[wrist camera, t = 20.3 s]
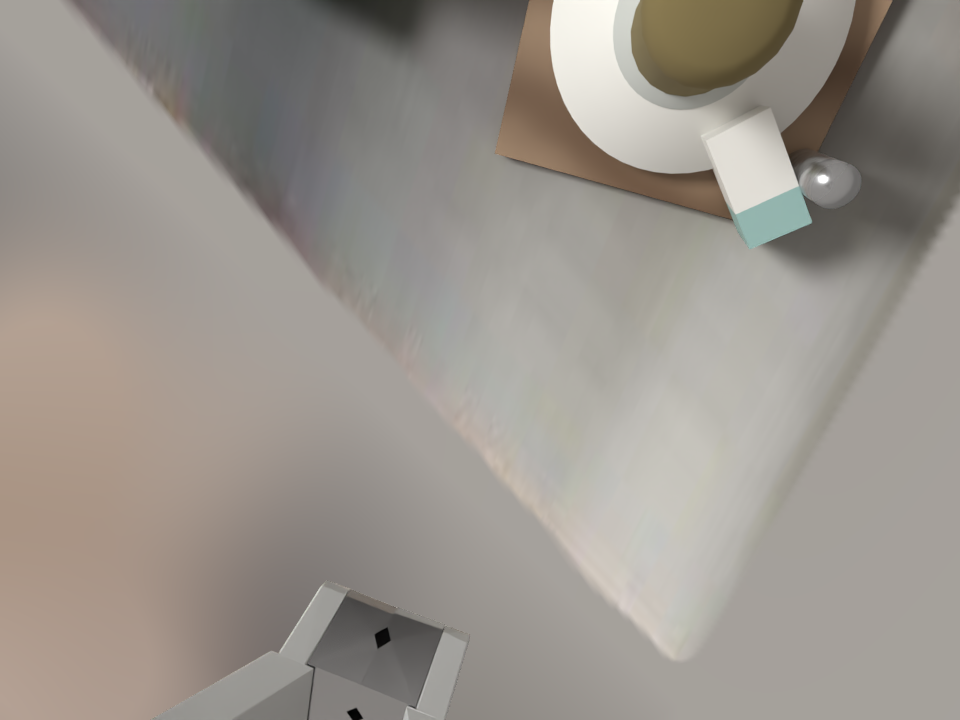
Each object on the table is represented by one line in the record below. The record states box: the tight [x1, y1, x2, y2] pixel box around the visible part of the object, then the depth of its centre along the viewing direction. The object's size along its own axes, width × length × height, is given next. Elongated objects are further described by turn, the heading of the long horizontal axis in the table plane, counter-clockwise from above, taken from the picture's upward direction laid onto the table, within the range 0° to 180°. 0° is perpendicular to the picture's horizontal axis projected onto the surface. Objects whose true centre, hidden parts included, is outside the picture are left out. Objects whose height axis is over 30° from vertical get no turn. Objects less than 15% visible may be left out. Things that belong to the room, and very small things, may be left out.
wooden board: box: [495, 0, 893, 220], centre depth 29 cm, size 17×17×1 cm
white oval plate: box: [550, 0, 856, 249], centre depth 27 cm, size 18×14×4 cm
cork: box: [631, 0, 803, 97], centre depth 23 cm, size 6×6×11 cm
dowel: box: [788, 149, 862, 209], centre depth 28 cm, size 2×2×7 cm
